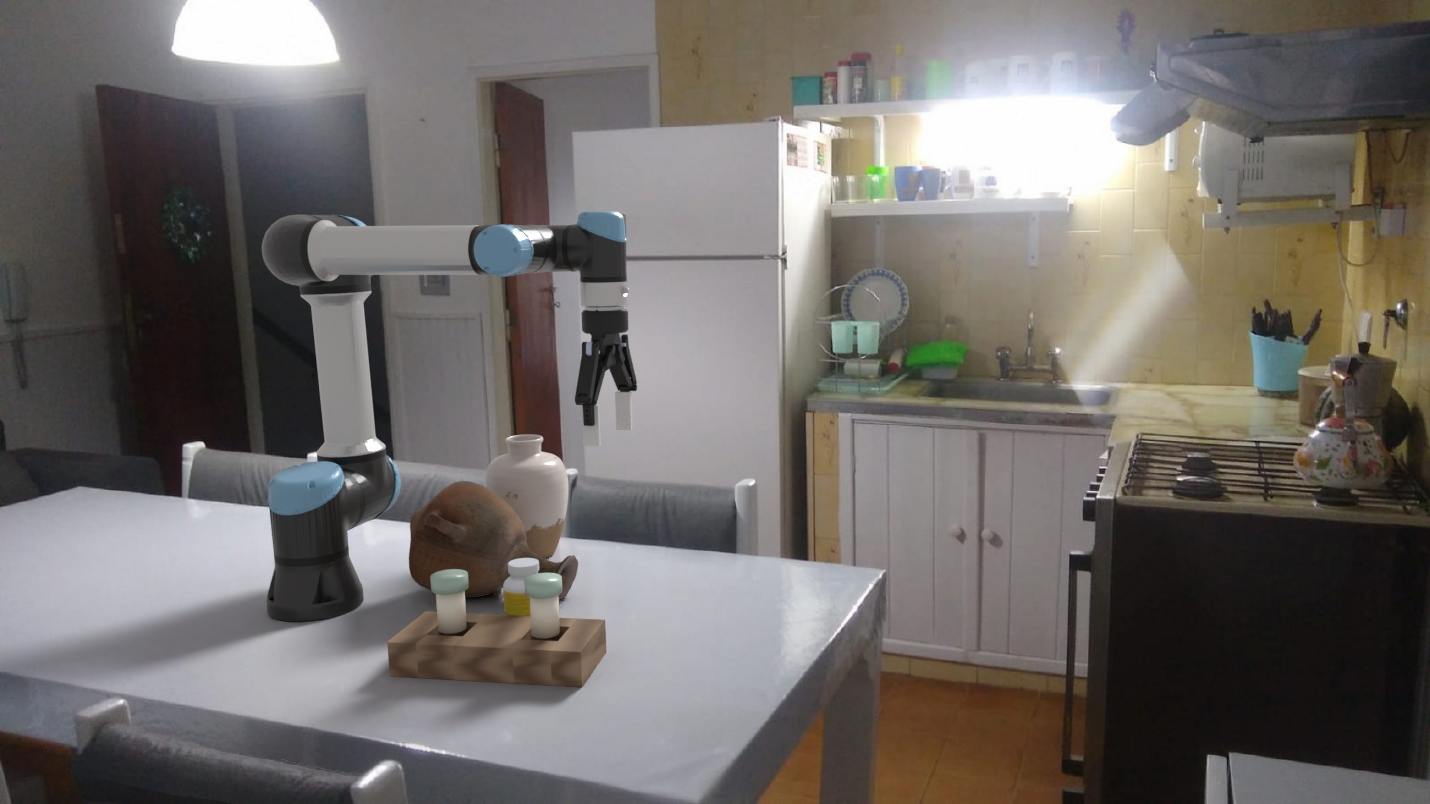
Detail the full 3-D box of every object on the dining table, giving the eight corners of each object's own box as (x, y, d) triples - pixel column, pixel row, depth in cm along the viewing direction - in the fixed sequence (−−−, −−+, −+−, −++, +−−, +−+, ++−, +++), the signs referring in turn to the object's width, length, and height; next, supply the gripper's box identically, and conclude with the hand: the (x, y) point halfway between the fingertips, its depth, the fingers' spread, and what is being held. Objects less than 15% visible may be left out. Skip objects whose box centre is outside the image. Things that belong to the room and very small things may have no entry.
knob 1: (427, 634, 147) (423, 580, 146) (443, 621, 152) (439, 568, 151) (462, 636, 146) (458, 581, 145) (476, 622, 152) (473, 569, 150)
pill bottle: (539, 644, 156) (535, 570, 154) (499, 642, 157) (494, 568, 155) (554, 628, 162) (551, 556, 160) (515, 626, 164) (511, 555, 162)
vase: (563, 538, 211) (558, 427, 207) (578, 560, 196) (573, 441, 192) (483, 546, 206) (477, 433, 202) (493, 570, 191) (486, 448, 188)
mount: (389, 676, 146) (387, 642, 145) (427, 643, 157) (425, 611, 157) (582, 687, 141) (580, 652, 140) (606, 652, 152) (605, 619, 152)
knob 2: (521, 639, 145) (518, 584, 144) (534, 625, 150) (531, 572, 149) (557, 640, 144) (554, 585, 143) (569, 626, 149) (566, 573, 148)
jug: (382, 601, 176) (536, 651, 167) (374, 500, 168) (536, 546, 159) (452, 545, 193) (595, 587, 184) (448, 451, 186) (598, 490, 176)
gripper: (594, 314, 155) (599, 453, 159) (653, 303, 179) (656, 424, 182) (549, 314, 158) (555, 451, 161) (612, 303, 181) (616, 422, 184)
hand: (609, 437), depth 172 cm, fingers open, 13 cm apart
